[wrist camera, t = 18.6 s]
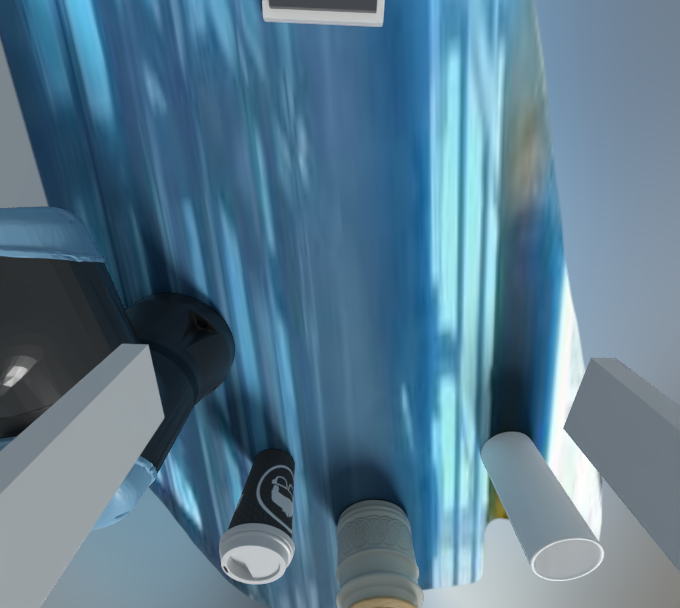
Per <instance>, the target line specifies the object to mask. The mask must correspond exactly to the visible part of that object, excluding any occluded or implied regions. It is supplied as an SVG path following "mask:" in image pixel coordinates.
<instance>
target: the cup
mask: <svg viewBox="0 0 680 608" xmlns="http://www.w3.org/2000/svg"><path fill="white" fill-rule="evenodd" d="M481 459H482V461H483V464H484V466H485V468H486V470H487V472H488V474H489V477H490V479H491V481H492V483H493V485H494V487H495V490H496V492H497V494H498V496H499V498H500V500H501V503H502V505H503V507H504V509H505V511H506V513H507V516H508V518H509V520H510V522H511V524H512V526H513V528H514V531H515V533H516V535H517V537H518V539H519V542H520V543H521V546H522V548H523V550H524V552H525V555H526V557H527V559H528V561H529V563H530V565H531V568H532V569H533V571H534V572H535V573H536V574H537V575H538V576H539V577H542V578H544V579H547V580H553V581H564V580H571V579H575V578H578V577H581V576H584V575H586V574H588V573H589V572H591V571H593V570H594V569H595V568H596V567H598V566H599V564H600V563H601V562H602V560H603V557H604V551H603V549H602V547H601V545H600V543H599V542H598V540H597V539H596V537H595V536H594V534H593V533H592V531H591V529H590V528H589V526H588V525H587V523H586V522H585V520H584V519H583V517H582V516H581V514H580V513H579V511H578V510H577V508H576V507H575V505H574V504H573V502H572V501H571V499H570V498H569V496H568V495H567V493H566V492H565V490H564V489H563V487H562V486H561V484H560V483H559V481H558V480H557V478H556V477H555V475H554V474H553V472H552V471H551V469H550V468H549V466H548V465H547V463H546V462H545V460H544V459H543V457H542V456H541V454H540V453H539V451H538V450H537V448H536V447H535V445H534V444H533V442H532V441H531V439H530V438H529V437H528V436H527V435H525V434H523V433H520V432H504V433H500V434H497V435H495V436H493V437H492V438H490V439H489V440H488V441H487V442H486V443H485V444H484V445H483V447H482V449H481Z"/></svg>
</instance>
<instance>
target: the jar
mask: <svg viewBox="0 0 680 608" xmlns="http://www.w3.org/2000/svg"><path fill="white" fill-rule="evenodd" d="M411 535H412V532H411V527H410V523H409V521H408V519H407V516H406V514H405V512H404V511H403V510H402V509H401V508H400V507H398V506H397V505H395V504H393V503H390V502H387V501H382V500H366V501H361V502H358V503H356V504H353V505H351V506H350V507H348V508H347V509H346V510H344V511H343V513H342V514H341V516H340V518H339V521H338V526H337V541H338V569H337V581H338V583H339V585H340V590H339V591H338V593H337V597H336V603H337V606H338V608H421V606H422V604H423V599H424V596H423V592H422V589H421V588H420V586H419V585H418V583H417V580H418V576H419V570H418V566H417V564H416V559H415V554H414V549H413V543H412V538H411Z"/></svg>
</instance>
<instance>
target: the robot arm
mask: <svg viewBox="0 0 680 608" xmlns="http://www.w3.org/2000/svg"><path fill="white" fill-rule="evenodd" d="M104 262H106V260H105V258H104V257H103V256H101V255H100V254H99V252H98V250H97V248H96V246H95V245H94V243H93V241H92V239H91V237H90V235H89V233H88V231H87V229H86V227H85V226H84V224H83V223H82V221H81V220H80V219H79V218H78V217H77V216H75V215H74V214H73V213H71V212H69V211H67V210H64V209H61V208H57V207H18V208H0V608H40V607H41V605H42V604H43V602H44V601H45V599H46V598H47V596H48V595H49V593H50V592H51V590H52V589H53V587H54V586H55V584H56V582H57V581H58V579H59V578H60V576H61V575H62V573H63V572H64V570H65V568H66V567H67V566H68V564H69V563H70V561H71V560H72V558H73V556H74V555H75V553H76V552H77V551H78V549H79V547H80V546H81V544H82V543H83V541H84V540H85V538H86V537H87V535H88V534H89V532H90V531H91V530H96V529H100V528H104V527H107V526H109V525H112V524H114V523H116V522H118V521H120V520H121V519H123V518H124V517H125V516H127V515H128V514H129V513H130V512H131V511H132V510H133V509H134V507H135V506H136V505H137V503H138V501H139V500H140V498H141V497H142V495H143V494H144V492H145V491H146V489H147V488H148V486H149V485H151V483H152V482H154V480H155V478H156V476H157V473H158V471H159V469H160V468H161V466H162V464H163V462H164V460H165V458H166V457H167V455H168V453H169V451H170V449H171V447H172V446H173V444H174V442H175V440H176V438H177V436H178V435H179V433H180V431H181V429H182V427H183V425H184V424H185V422H186V420H187V418H188V416H189V414H190V412H191V411H192V409H193V407H194V405H195V404H197V403H198V402H199V401H200V400H201V399H202V398H203V397H204V396H206V395H208V394H209V393H211V392H212V391H214V390H215V389H216V388H217V387H218V386H219V385H220V384H221V383H222V382H223V381H224V379H225V378H226V376H227V374H228V372H229V370H230V368H231V366H232V364H233V361H234V356H235V345H234V340H233V337H232V334H231V332H230V330H229V328H228V326H227V324H226V323H225V321H224V320H223V319H222V318H221V317H220V316H219V315H218V314H217V313H216V312H215V311H214V310H213V309H212V308H210V307H209V306H207V305H206V304H204V303H203V302H201V301H199V300H197V299H194V298H192V297H189V296H186V295H181V294H176V293H159V294H153V295H150V296H147V297H144V298H142V299H140V300H139V301H137V302H136V303H135V304H133V305H132V306H130V307H129V308H128V309H127V310H125V308H124V306H123V304H122V302H121V300H120V297H119V295H118V293H117V291H116V288H115V286H114V284H113V281H112V279H111V277H110V275H109V272H108V270H107V268H106V266H105V263H104ZM563 429H564V430H565V431H566V432H567V433H568V435H569V436H570V437H571V438H572V440H573V441H574V442H575V443H576V445H577V446H578V447H579V448H580V450H581V451H582V452H583V453H584V454H585V456H586V457H587V458H588V459H589V461H590V462H591V463H592V464H593V466H594V467H595V468H596V469H597V471H598V472H599V473H600V474H601V475H602V477H603V478H604V479H605V480H606V482H607V483H608V484H609V485H610V487H611V488H612V489H613V490H614V492H615V493H616V494H617V495H618V497H619V498H620V499H621V500H622V501H623V503H624V504H625V505H626V506H627V508H628V509H629V510H630V511H631V513H632V514H633V515H634V516H635V517H636V519H637V520H638V521H639V522H640V524H641V525H642V526H643V527H644V528H645V530H646V531H647V532H648V533H649V535H650V536H651V537H652V538H653V540H654V541H655V542H656V543H657V545H658V546H659V547H660V548H661V550H662V551H663V552H664V553H665V555H666V556H667V557H668V558H669V560H670V561H671V562H672V563H673V564H674V566H675V567H676V568H677V569H678V571H679V572H680V406H679V405H678V404H677V403H675V402H674V401H672V400H671V399H670V398H669V397H667V396H666V395H665V394H663V393H662V392H661V391H659V390H658V389H656V388H655V387H654V386H652V385H651V384H650V383H648V382H647V381H646V380H644V379H643V378H642V377H640V376H639V375H638V374H636V373H635V372H634V371H632V370H631V369H630V368H628V367H627V366H626V365H624V364H623V363H622V362H620V361H619V360H618V359H616V358H591V359H590V362H589V364H588V367H587V369H586V372H585V374H584V377H583V379H582V382H581V384H580V387H579V390H578V392H577V395H576V397H575V400H574V402H573V405H572V407H571V410H570V413H569V415H568V418H567V420H566V423H565V425H564V428H563Z"/></svg>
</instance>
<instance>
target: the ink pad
mask: <svg viewBox="0 0 680 608" xmlns="http://www.w3.org/2000/svg"><path fill="white" fill-rule="evenodd" d="M384 2H385V0H262V7H263V19H264V21H265V22H283V23H305V24H327V25H349V26H372V27H382V25H383V16H384Z"/></svg>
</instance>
